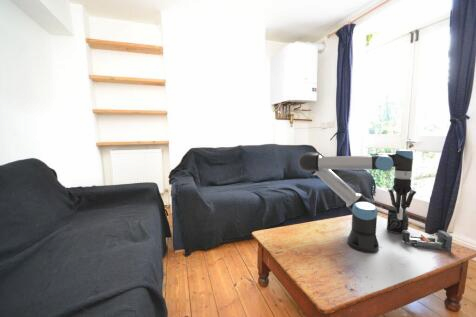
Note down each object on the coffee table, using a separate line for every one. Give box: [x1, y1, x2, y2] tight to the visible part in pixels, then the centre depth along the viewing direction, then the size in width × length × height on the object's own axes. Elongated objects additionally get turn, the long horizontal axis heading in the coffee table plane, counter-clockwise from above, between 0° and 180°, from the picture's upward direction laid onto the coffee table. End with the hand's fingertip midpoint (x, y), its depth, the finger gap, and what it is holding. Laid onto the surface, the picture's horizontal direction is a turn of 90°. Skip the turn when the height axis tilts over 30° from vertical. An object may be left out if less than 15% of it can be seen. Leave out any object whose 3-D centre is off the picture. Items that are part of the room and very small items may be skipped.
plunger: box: [401, 230, 422, 244], centre depth 118 cm, size 8×4×6 cm, turn 75°
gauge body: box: [410, 229, 453, 252], centre depth 116 cm, size 16×7×8 cm, turn 75°
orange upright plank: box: [420, 234, 430, 242], centre depth 117 cm, size 2×7×4 cm, turn 164°
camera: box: [386, 205, 410, 235], centre depth 133 cm, size 10×10×15 cm
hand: (399, 218), depth 119 cm, fingers closed
